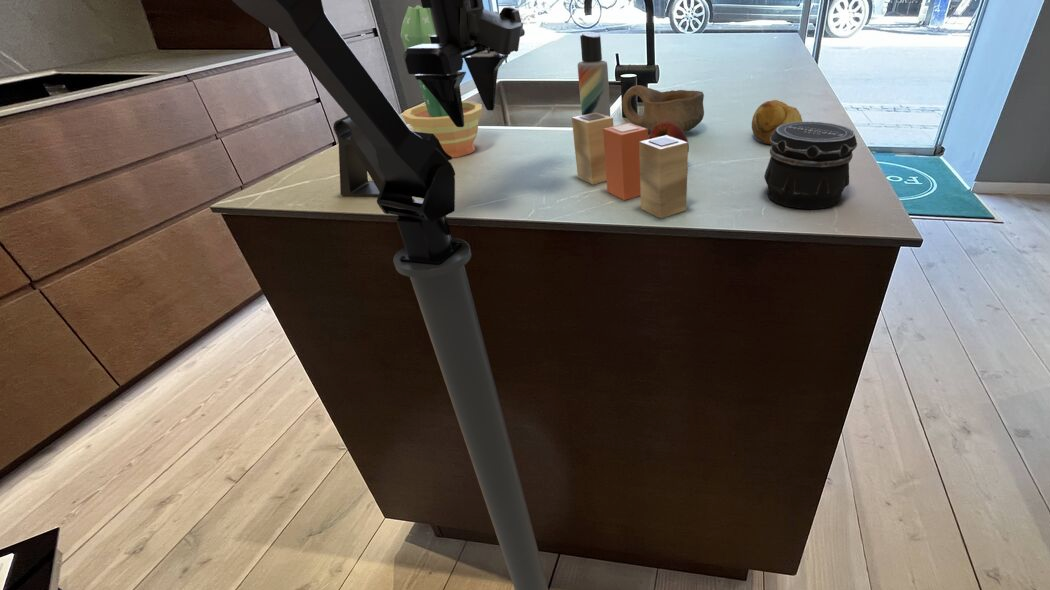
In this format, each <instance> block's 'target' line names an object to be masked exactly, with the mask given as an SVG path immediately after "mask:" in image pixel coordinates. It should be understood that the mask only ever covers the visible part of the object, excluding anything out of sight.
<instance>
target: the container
mask: <svg viewBox="0 0 1050 590" xmlns="http://www.w3.org/2000/svg"><path fill="white" fill-rule="evenodd" d="M770 142H771V144H770V145H771V147H770V149H769V154H770V158H769V161H768V164H767V167H766V170H765V171H764V172H765V173H764V175H763V176H764V181H765V183H766V185H767V198H769V200H771V201H773V202H774V203H776V204H778V205H781V206H784V207H789V208H798V209H805V210H818V209H819V210H820V209H827V208H831V207H833V206H835V205H837V204H838V203H839V202H840V200H841V198H842V194H843V192H844V190H845V188H847V187H849V185H850V162H851V160H852V159H853V151H855V150H856V148H857V147H858V142H857V138H856V135H855V131H854V130H853V129H851V128H849V127H847V126H843V125H841V124H840V125H839V124H835V123H831V122H822V121H802V122H793V123H787V124H782V125H780V126H778V127H777V128H776V130H775V131H774V132H773V133H772V134H771V138H770Z"/></svg>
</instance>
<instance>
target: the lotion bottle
mask: <svg viewBox="0 0 1050 590" xmlns="http://www.w3.org/2000/svg"><path fill="white" fill-rule="evenodd" d="M579 41H580V43H579V44H580V53H581V61H579V62H578V63H577V75H578V76H577V77H578V87H579V99H580V111H581V115H586V114H591V113H596V112H597V113H600V114H603V115H606V116H609V117H611V101H610V85H609V83H610V82H609V67H608V62H607V61H606V60H603V49H602V36H601V33H599V32H593V31H583V32H582V33H581V34H580V35H579Z"/></svg>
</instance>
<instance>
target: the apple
mask: <svg viewBox="0 0 1050 590" xmlns="http://www.w3.org/2000/svg"><path fill="white" fill-rule="evenodd" d="M665 135H667V136H670V137H673V138H676V139H679V140H682V141H685V142H688V152H689V149H690V146H689V140H688V137H687V135H686V134H685V132H683V131H682V129H681V128H679V127H678V126H677V125H675V124H673V123H670V122H661V123H659V124H657V125H656V126H655V127H654V128H653V129H652V131H650V133H649V134H648V139H653V138H657V137H661V136H665Z"/></svg>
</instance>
